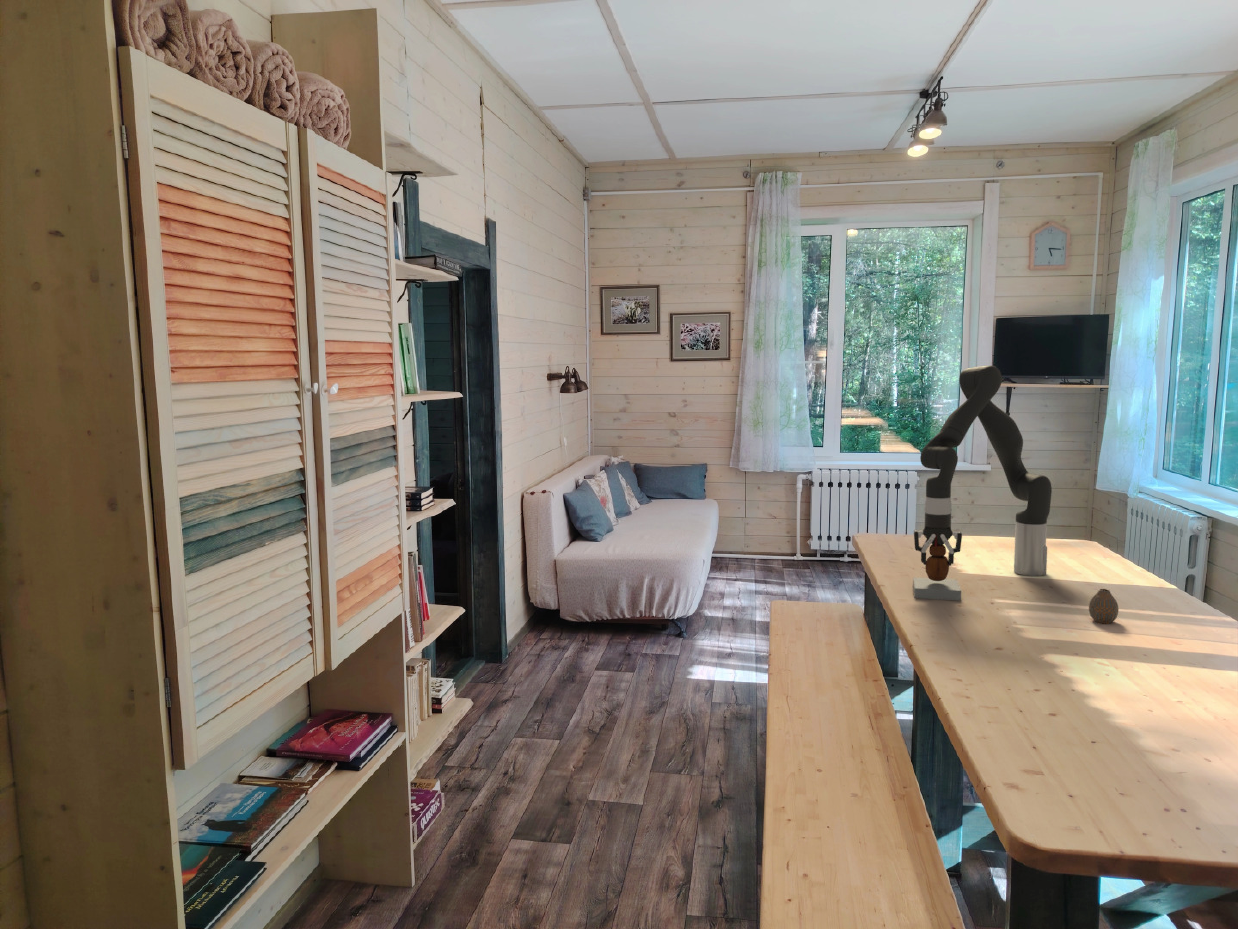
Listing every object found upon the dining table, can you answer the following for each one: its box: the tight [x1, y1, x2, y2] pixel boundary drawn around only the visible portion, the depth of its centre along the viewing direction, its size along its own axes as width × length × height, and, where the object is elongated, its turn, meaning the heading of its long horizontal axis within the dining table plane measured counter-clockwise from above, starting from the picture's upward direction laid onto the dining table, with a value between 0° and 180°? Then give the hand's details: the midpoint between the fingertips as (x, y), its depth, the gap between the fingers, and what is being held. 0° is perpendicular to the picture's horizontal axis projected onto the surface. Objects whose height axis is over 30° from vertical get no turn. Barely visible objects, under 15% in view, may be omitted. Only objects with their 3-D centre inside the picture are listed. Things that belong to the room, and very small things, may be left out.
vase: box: [1088, 588, 1120, 624], centre depth 219 cm, size 7×7×9 cm
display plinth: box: [912, 576, 962, 602], centre depth 249 cm, size 13×13×3 cm
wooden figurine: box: [924, 533, 950, 581], centre depth 248 cm, size 7×6×15 cm
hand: (937, 564), depth 248 cm, fingers closed on wooden figurine, 6 cm apart
